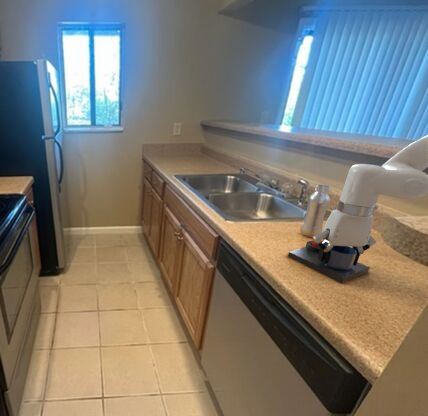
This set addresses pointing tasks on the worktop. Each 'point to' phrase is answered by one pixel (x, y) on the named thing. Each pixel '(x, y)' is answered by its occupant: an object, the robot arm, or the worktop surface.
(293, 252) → the scale
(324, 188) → the silver bottle
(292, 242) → the worktop surface
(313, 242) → the button
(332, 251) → the cup
